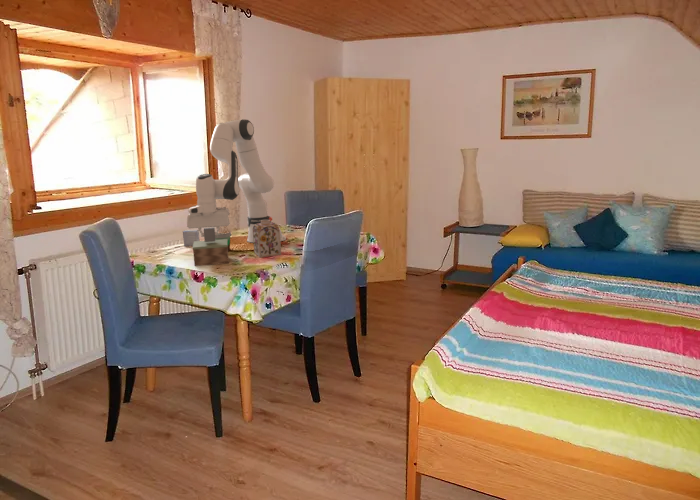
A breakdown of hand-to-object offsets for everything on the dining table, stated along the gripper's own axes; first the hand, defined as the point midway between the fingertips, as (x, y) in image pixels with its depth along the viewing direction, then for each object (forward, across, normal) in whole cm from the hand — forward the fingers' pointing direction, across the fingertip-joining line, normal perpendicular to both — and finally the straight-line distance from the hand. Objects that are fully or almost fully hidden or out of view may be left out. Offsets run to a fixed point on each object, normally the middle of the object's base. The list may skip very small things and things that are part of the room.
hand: (209, 236), depth 267 cm
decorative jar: (+13, -28, -7) cm, 32 cm away
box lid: (+5, 0, 0) cm, 5 cm away
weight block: (+2, 0, 0) cm, 2 cm away
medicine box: (+13, +12, -44) cm, 47 cm away
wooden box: (+13, 0, 0) cm, 13 cm away
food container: (+13, -5, -22) cm, 26 cm away
